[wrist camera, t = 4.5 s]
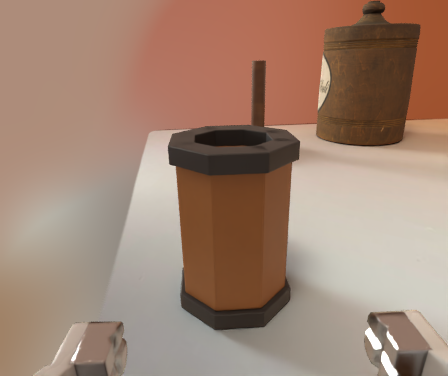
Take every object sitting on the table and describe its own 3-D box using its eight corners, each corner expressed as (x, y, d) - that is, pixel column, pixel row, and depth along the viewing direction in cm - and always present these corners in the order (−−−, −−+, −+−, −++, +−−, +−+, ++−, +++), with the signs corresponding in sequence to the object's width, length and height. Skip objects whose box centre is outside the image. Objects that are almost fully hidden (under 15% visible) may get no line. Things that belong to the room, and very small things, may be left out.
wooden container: (334, 125, 71) (346, 10, 62) (411, 134, 62) (436, 0, 53) (301, 138, 60) (310, 1, 52) (388, 151, 51) (415, -13, 43)
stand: (218, 151, 53) (215, 61, 48) (251, 141, 59) (252, 60, 54) (264, 161, 47) (267, 60, 42) (296, 148, 54) (301, 59, 49)
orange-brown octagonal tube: (161, 293, 21) (144, 139, 17) (228, 250, 26) (225, 121, 22) (242, 348, 17) (242, 162, 13) (304, 285, 21) (317, 134, 18)
